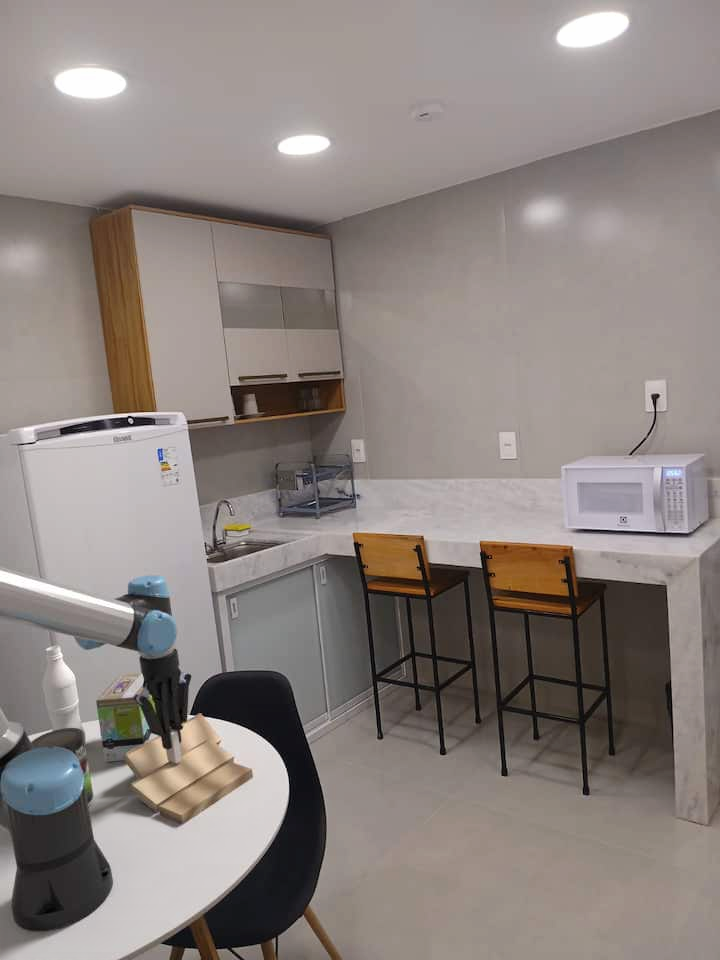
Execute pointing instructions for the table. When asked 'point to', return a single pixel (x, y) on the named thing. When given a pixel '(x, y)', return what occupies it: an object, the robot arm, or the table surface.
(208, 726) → the plank
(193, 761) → the plank
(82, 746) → the coffee can
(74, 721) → the water bottle
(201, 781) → the laid board
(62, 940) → the table surface
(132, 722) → the tea box
